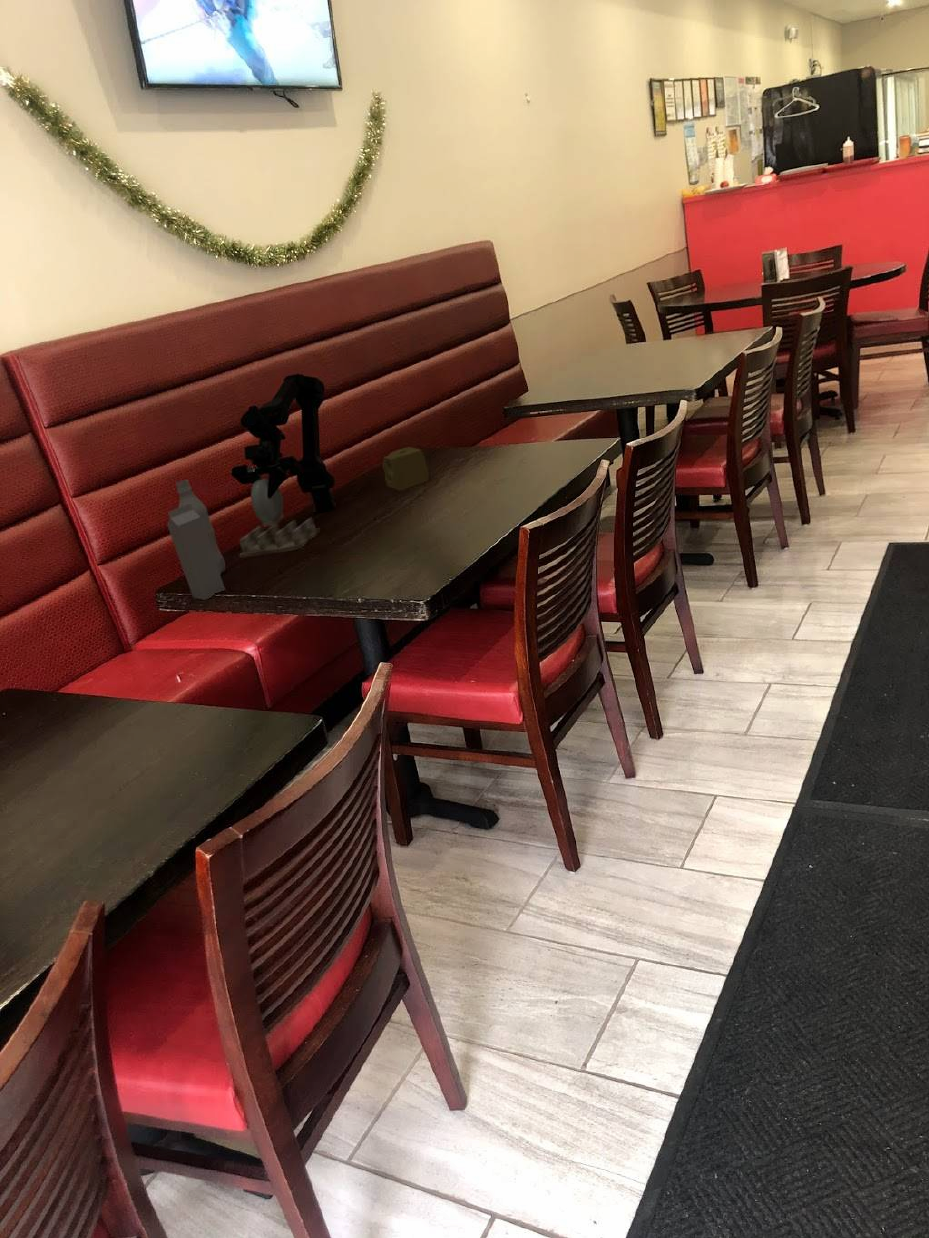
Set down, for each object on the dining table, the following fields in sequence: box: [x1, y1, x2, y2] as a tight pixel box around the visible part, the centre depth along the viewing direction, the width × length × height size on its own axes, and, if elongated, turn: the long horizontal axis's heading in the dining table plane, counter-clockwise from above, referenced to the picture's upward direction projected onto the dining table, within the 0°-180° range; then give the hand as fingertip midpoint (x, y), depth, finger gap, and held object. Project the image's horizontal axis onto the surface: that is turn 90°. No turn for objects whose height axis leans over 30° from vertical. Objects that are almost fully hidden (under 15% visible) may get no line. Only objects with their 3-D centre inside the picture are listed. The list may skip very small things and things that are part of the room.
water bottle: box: [175, 479, 226, 576], centre depth 249 cm, size 7×7×25 cm
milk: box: [166, 504, 226, 601], centre depth 235 cm, size 6×6×22 cm
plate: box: [250, 477, 285, 527], centre depth 262 cm, size 12×3×12 cm, turn 164°
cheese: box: [382, 446, 430, 492], centre depth 296 cm, size 10×11×10 cm
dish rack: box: [238, 517, 322, 559], centre depth 265 cm, size 14×18×4 cm
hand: (263, 498), depth 260 cm, fingers closed on plate, 3 cm apart
